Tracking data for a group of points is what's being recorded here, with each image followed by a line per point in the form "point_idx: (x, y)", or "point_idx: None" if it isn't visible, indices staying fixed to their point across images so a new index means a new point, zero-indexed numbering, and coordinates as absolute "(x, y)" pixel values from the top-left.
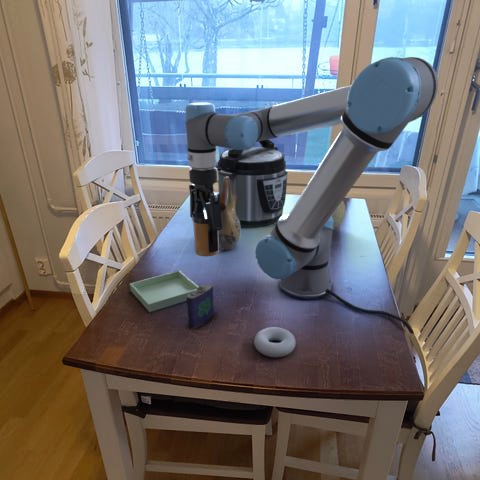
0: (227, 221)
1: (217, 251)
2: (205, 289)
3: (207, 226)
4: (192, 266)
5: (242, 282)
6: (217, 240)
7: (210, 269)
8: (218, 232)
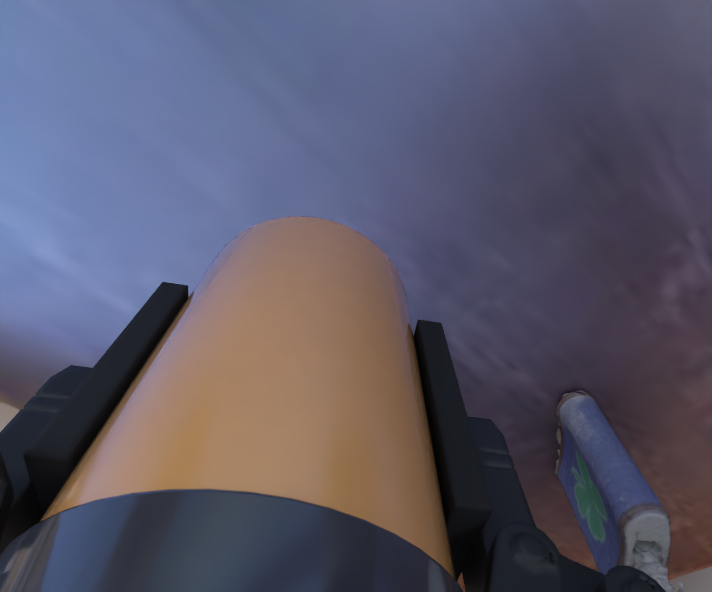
0: None
1: (403, 292)
2: (649, 540)
3: None
4: (118, 189)
5: (508, 90)
6: (495, 431)
7: (221, 127)
8: (379, 354)
